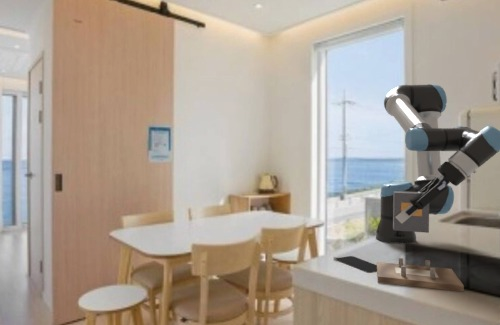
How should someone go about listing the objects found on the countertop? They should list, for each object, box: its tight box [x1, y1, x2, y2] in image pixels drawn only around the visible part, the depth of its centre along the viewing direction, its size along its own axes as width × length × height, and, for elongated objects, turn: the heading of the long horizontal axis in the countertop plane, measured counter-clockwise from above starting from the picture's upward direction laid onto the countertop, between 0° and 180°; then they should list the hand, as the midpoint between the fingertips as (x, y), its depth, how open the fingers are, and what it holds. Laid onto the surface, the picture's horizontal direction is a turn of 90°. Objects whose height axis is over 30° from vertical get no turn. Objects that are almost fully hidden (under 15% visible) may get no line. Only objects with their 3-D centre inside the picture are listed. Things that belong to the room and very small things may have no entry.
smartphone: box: [335, 255, 377, 274], centre depth 110 cm, size 7×1×15 cm
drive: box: [393, 191, 430, 234], centre depth 113 cm, size 10×5×12 cm, turn 71°
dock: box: [376, 257, 465, 292], centre depth 97 cm, size 20×14×4 cm
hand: (397, 218), depth 115 cm, fingers closed on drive, 5 cm apart
